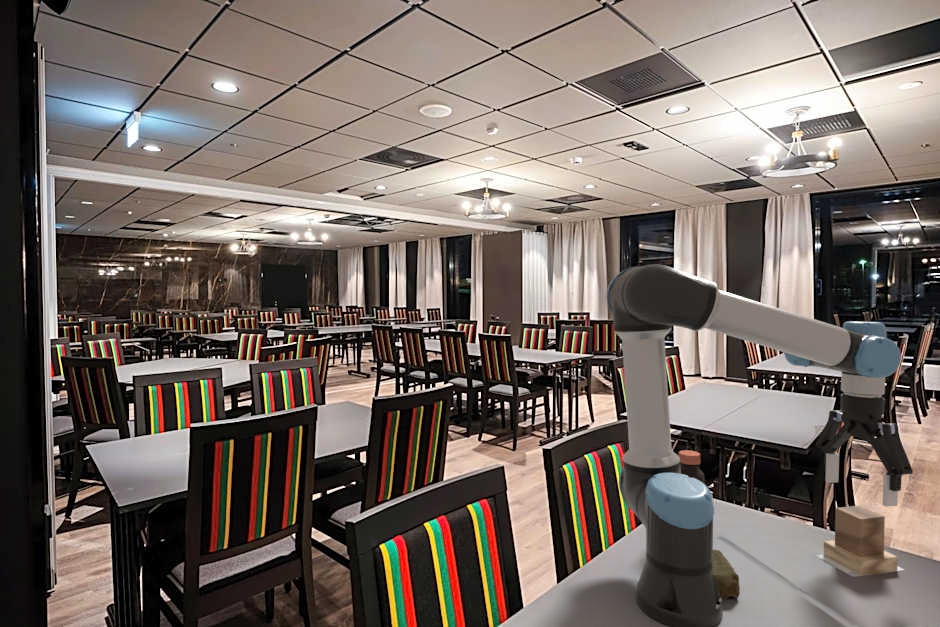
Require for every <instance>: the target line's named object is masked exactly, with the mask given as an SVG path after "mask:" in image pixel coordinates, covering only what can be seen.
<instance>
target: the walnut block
mask: <svg viewBox="0 0 940 627" xmlns="http://www.w3.org/2000/svg"><path fill="white" fill-rule="evenodd" d="M834 512H835V514H834V515H835V518H834V520H835V521H834V525H835V526H834V540H835V544H836V545H838V546H840V547H841V548H843V549H845V550H847V551H849V552H851V553H853V554H855V555H857V556H859V557H866V556H874V555H882V554H884V550H885V522H886V521H885V516H884V515H881V514H879V513H877V512H875V511H873V510H870V509H867V508H865V507H863V506H861V505H851V506H842V507H835V509H834Z"/></svg>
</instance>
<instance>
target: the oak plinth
mask: <svg viewBox="0 0 940 627" xmlns="http://www.w3.org/2000/svg"><path fill="white" fill-rule="evenodd" d="M823 555H825V556H827V557H829V558H830V559H832V560H834V561H836V562H837V563H839V564H841V565H843V566H845V567H846V568H848V569H850V570H852V571H853V572H855V573H857V574H859V575H861V576H860V577H862V575H864V576H871V575H870V574H872V575H878V573H880V574H887V573H894V572H893V571H895V572H898V571H897V566H898V556H897V555H895V554H893V553H890V552H888V551H886V550H885V549H884V554H882V555H874V556H866V557H859V556H857V555H855V554H853V553H851V552H849V551H847V550H845V549H843V548H841V547H840V546H838V545H836V544H835V539H832V540H825V541H823ZM886 572H887V573H886Z"/></svg>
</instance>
